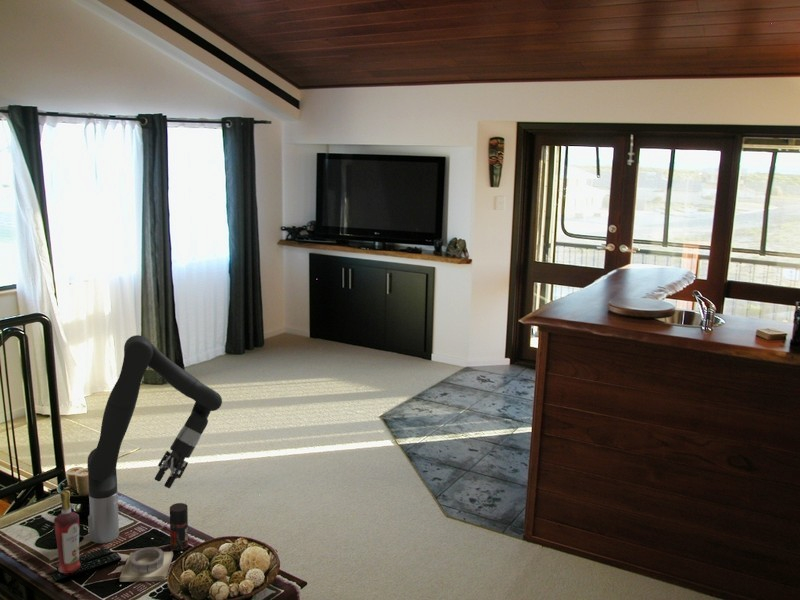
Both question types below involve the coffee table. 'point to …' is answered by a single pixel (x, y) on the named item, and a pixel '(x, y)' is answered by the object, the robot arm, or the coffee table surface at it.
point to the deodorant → (178, 526)
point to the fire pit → (147, 565)
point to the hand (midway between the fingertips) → (161, 483)
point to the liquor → (67, 536)
